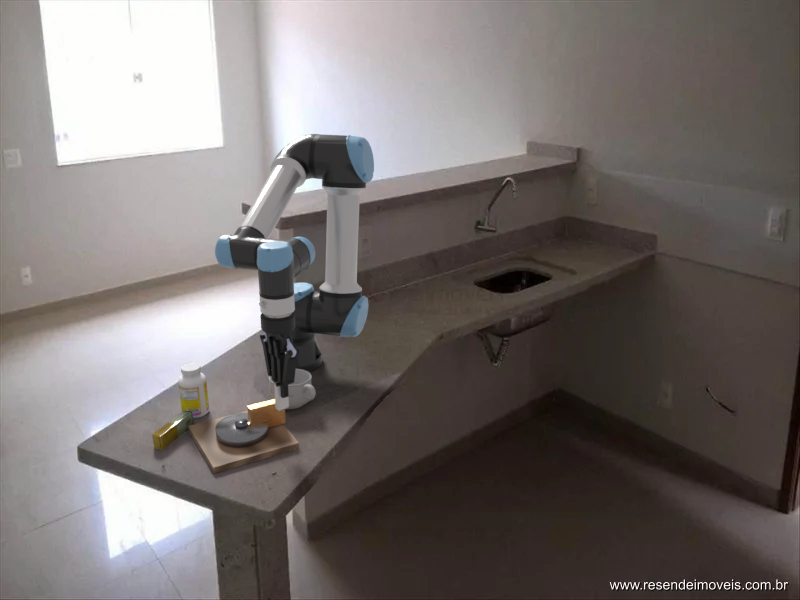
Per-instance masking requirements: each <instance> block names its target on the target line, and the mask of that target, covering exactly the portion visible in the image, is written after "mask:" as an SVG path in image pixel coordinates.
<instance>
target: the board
mask: <svg viewBox="0 0 800 600" xmlns="http://www.w3.org/2000/svg"><path fill="white" fill-rule="evenodd" d="M238 413H248V410H244V411H241V412H238ZM238 413H237V412H236V413H235V414H238ZM230 415H233V413H232V414H230ZM230 415H228V414H227V415H226V416H221V417H217V418H214V419H210V420H205V421H203V422H202V421H201V422H198V423H194V425H190V426H188V433H189V435H190V436H191V438H192V439H193V441H194V443H195V444H196V446H197V448H198V449H199V451H200V453H201V455H202V456H203V457H204V459H205V461H206V463H207V464H208V466H209V467H210V469H211V471H212V472H213V474H217V473H221V472H223V471H227V470H230V469H234V468H237V467H241V466H245V465H247V464H250V463H254V462H256V461H257V462H258V461H261V460H265V459H269V458H271V457H275V456H278V455H282V454H286V453H289V452H291V451H295V450H298V449H300V443H299V441H298V440H297V439H296V438H295V437H294V435H293V434H292V433H291V432H290V430H289V429H288V428H287V427H286V426H285V424H284V423H283V424H280V425H276V426H272V427H269V428H268V434H267V436H266V437H265V438H264V439H263V440H262V441H260V442H258V443H256V444H253V445H250V446H245V447H230V446H226V445H223V444H221V443H220V442H219V441H218V440H217V438H216V431H215V427H216V425H217V423H218V422H219V421H220V420H222V419H223V418H225V417H227V416H230Z"/></svg>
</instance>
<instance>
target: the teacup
mask: <svg viewBox="0 0 800 600" xmlns="http://www.w3.org/2000/svg"><path fill="white" fill-rule="evenodd" d="M268 384H269V386H268V387H269V396H270V400H272V399H275V391H274V382H273V381H272V377H271V376H268ZM288 391H289V392H288V393H289V396H288V397H289V407H288V408H285V410H296V409H299V408H301V407H303V406H304V405H306V404H308V402H310V401H313V400H314V398H315V397H316V395H317V393H316V392H317V391H316V389H315V387H314V386H313V385H312V374H311V372H308V371H306V370H302V369H296V371H295V379H294V383H292V384H289V385H288Z"/></svg>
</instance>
